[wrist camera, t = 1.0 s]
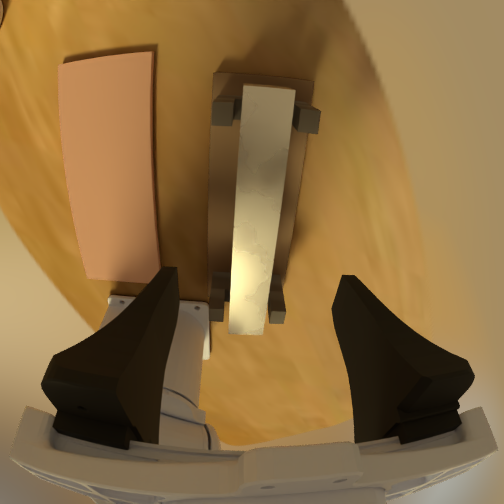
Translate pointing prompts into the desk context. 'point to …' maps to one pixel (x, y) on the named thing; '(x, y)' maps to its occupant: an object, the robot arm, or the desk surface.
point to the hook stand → (225, 177)
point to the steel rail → (258, 201)
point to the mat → (111, 163)
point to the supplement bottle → (1, 11)
